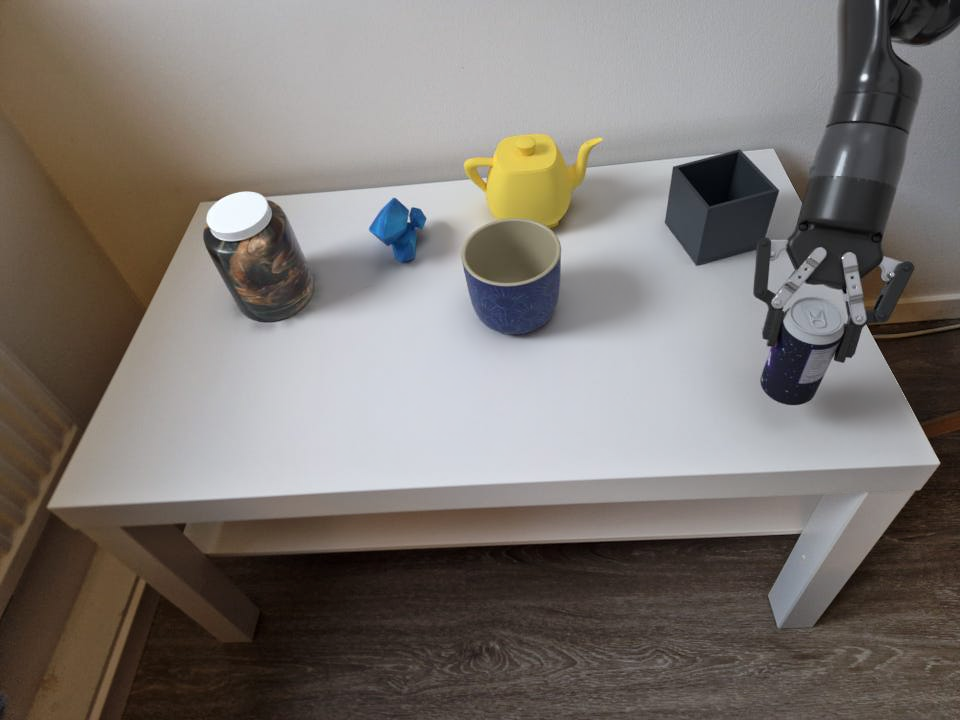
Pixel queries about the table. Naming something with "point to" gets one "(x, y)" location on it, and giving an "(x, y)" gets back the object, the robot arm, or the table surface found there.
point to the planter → (513, 274)
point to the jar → (258, 256)
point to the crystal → (398, 228)
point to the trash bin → (719, 206)
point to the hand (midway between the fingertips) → (804, 353)
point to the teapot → (530, 178)
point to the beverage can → (802, 350)
